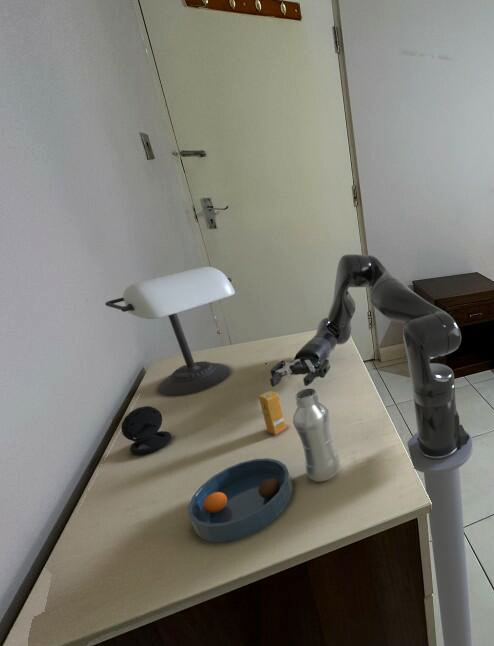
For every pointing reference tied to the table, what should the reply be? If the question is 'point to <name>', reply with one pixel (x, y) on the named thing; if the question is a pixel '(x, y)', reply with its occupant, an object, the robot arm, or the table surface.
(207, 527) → the bowl
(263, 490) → the brown ball
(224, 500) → the orange ball
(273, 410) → the supplement box
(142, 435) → the webcam
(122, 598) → the table surface
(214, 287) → the lamp
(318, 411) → the silver bottle
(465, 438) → the robot arm
